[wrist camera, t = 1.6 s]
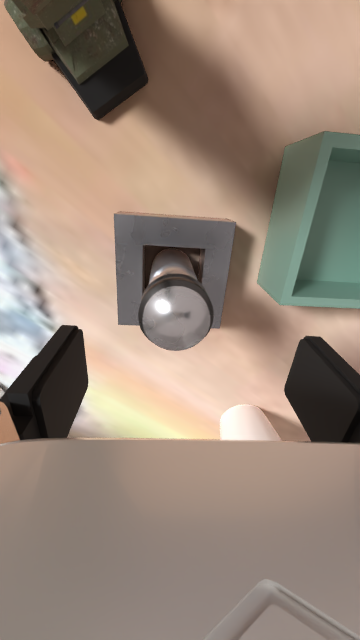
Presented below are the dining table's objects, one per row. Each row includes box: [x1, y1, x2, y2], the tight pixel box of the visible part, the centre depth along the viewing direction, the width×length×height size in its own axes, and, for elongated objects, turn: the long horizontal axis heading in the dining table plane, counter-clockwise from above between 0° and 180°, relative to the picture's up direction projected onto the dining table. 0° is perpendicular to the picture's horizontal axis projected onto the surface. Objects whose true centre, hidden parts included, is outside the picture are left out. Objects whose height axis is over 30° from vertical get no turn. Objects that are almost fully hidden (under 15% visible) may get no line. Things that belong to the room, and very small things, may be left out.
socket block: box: [114, 212, 236, 328], centre depth 25 cm, size 10×10×3 cm
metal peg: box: [138, 248, 214, 351], centre depth 20 cm, size 5×5×12 cm
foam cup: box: [220, 404, 282, 441], centre depth 30 cm, size 10×9×13 cm
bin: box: [257, 131, 360, 309], centre depth 22 cm, size 12×12×6 cm
